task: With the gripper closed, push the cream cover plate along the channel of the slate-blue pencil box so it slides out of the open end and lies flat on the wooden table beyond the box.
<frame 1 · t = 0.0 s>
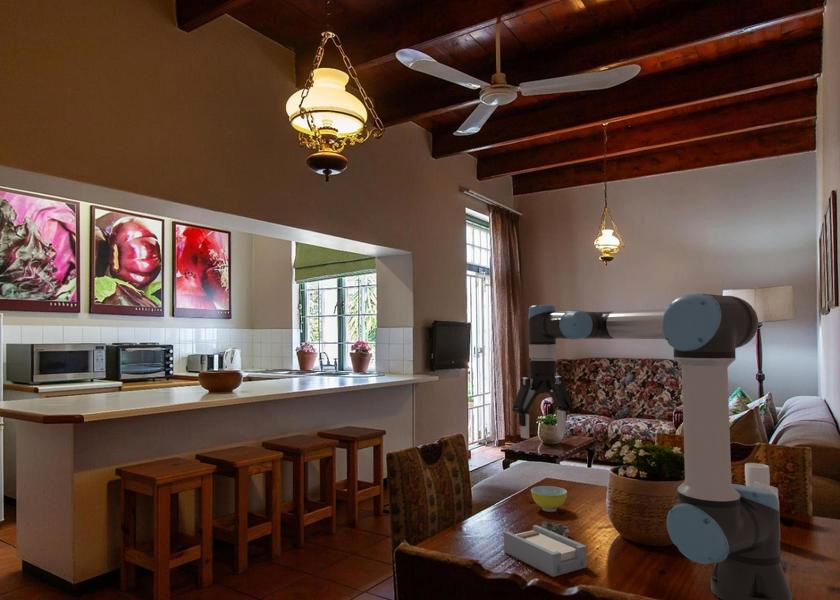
hand: (543, 435, 160), 28 cm above the table, fingers open, 13 cm apart
ink box: (761, 540, 157), on the table
bowl: (549, 510, 184), on the table
lid: (542, 549, 144), point 2 cm above the table, touching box
drinking glass: (758, 514, 180), on the table
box: (544, 559, 144), on the table
egg carton: (554, 541, 157), on the table
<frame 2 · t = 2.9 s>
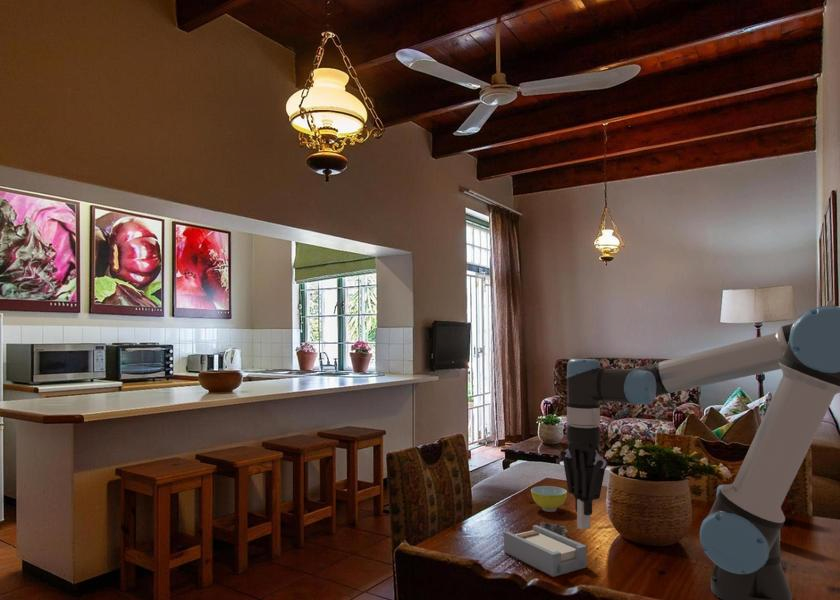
hand: (583, 527, 132), 12 cm above the table, fingers closed
nothing on the table moved.
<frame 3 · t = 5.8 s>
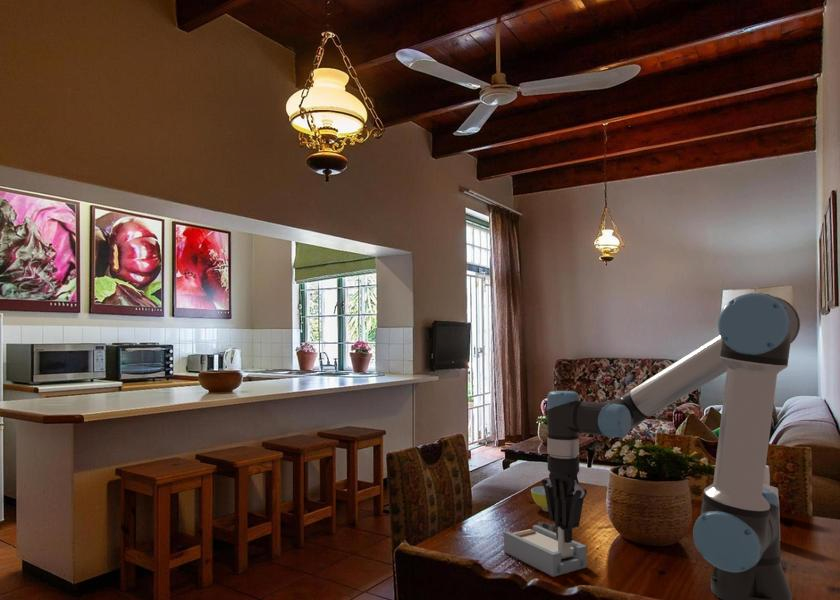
hand: (564, 554, 138), 3 cm above the table, fingers closed
lid: (539, 548, 145), point 2 cm above the table, touching gripper
everything else where it was.
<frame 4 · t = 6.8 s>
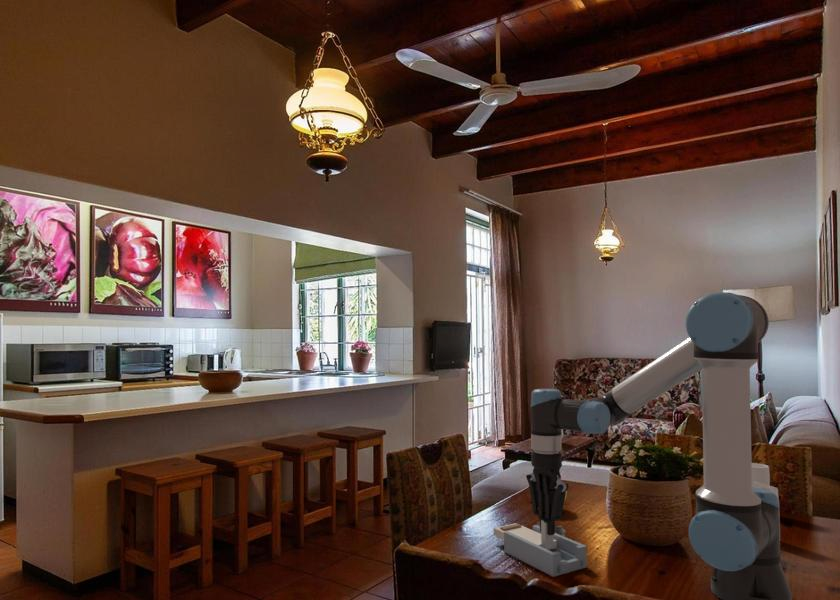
hand: (547, 546, 143), 3 cm above the table, fingers closed
lid: (524, 541, 150), point 2 cm above the table, touching gripper
everything else where it was.
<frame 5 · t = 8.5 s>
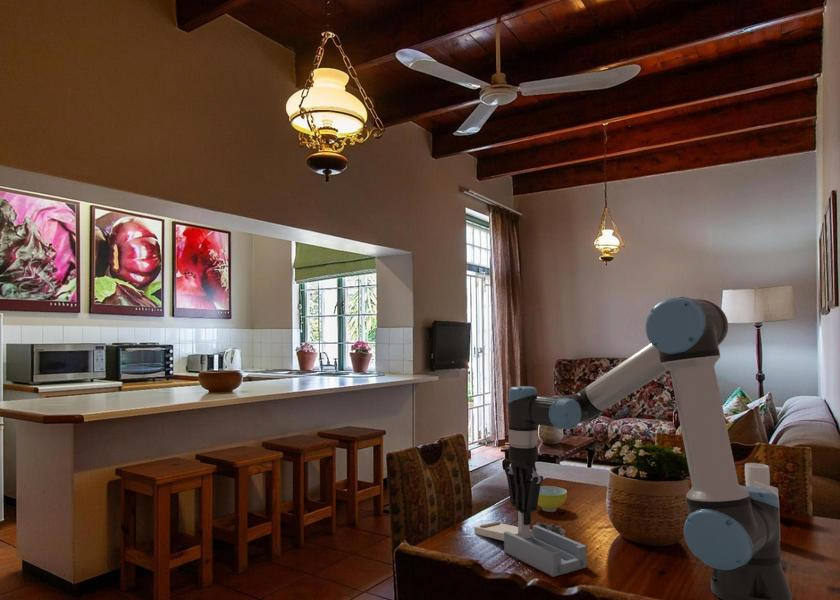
hand: (523, 536, 150), 3 cm above the table, fingers closed
lid: (503, 535, 157), point 1 cm above the table, tilted 8°, touching gripper
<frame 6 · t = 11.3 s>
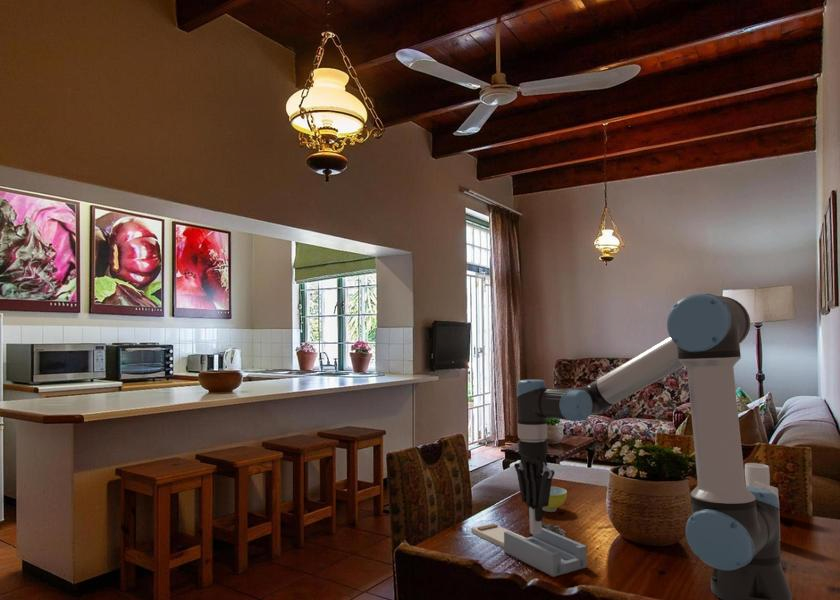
hand: (535, 532, 147), 6 cm above the table, fingers closed
lid: (500, 540, 158), on the table
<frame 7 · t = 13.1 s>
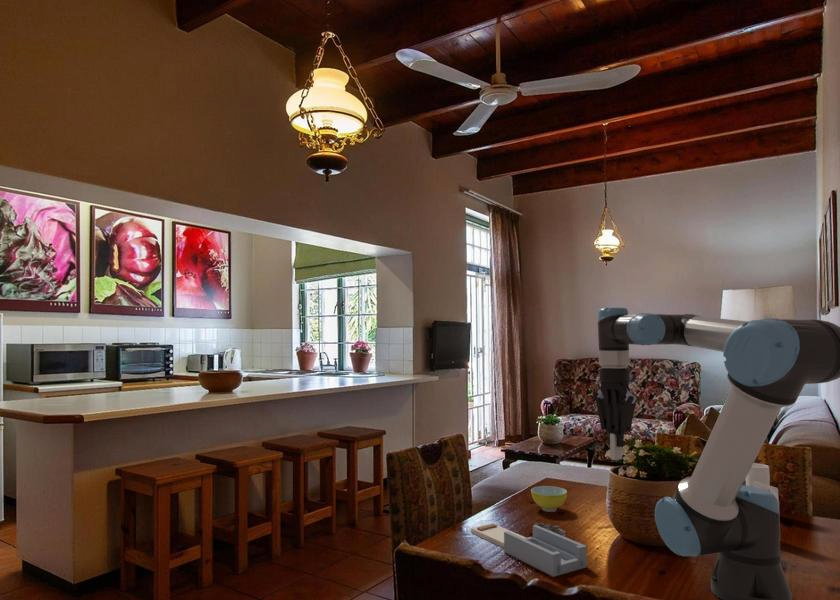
hand: (616, 458, 147), 24 cm above the table, fingers closed
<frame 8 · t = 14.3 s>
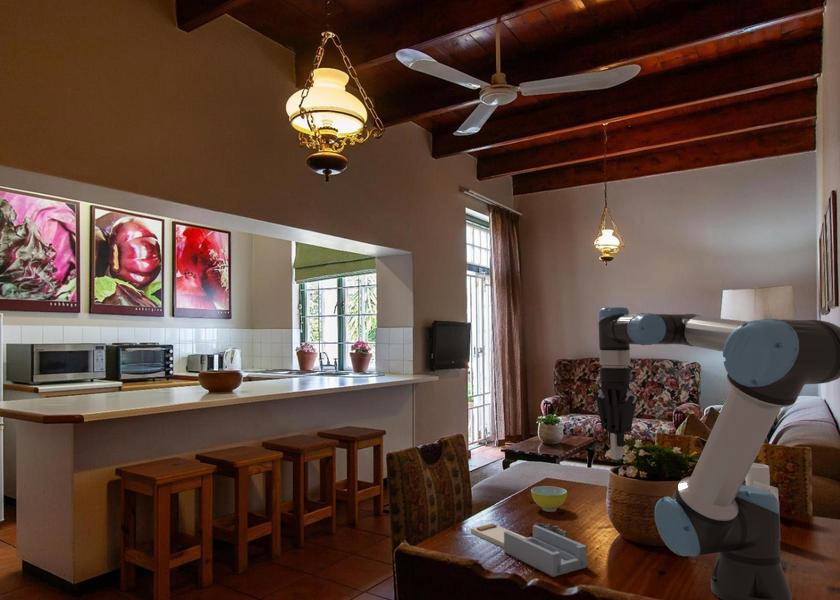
hand: (616, 458, 147), 24 cm above the table, fingers closed
at the end: lid inside the target area (3.7 cm from its centre), on the table; lid tilted 0°; lid touching table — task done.
